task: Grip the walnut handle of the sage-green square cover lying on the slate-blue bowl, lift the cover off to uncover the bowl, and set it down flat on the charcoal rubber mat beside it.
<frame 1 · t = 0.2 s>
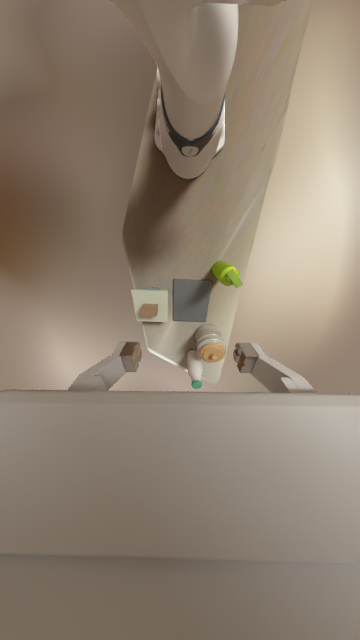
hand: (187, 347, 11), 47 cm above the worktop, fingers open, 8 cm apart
mat: (190, 301, 60), on the worktop
jar: (207, 333, 70), on the worktop
milk bottle: (193, 353, 77), on the worktop
soap dispenser: (218, 268, 53), on the worktop
cover: (151, 306, 55), point 6 cm above the worktop, touching bowl
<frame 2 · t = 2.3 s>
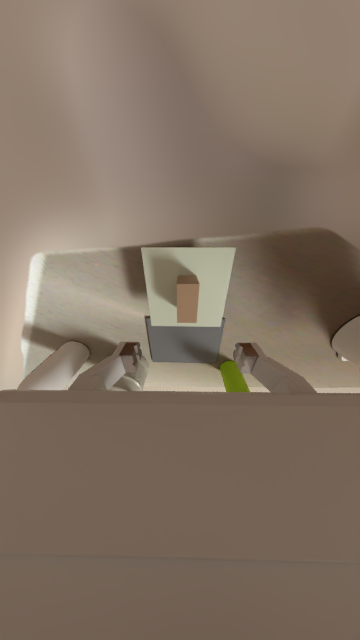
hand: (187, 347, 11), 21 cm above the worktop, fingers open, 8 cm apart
mat: (184, 341, 38), on the worktop
jar: (129, 363, 43), on the worktop
milk bottle: (78, 349, 41), on the worktop
soap dispenser: (230, 365, 43), on the worktop
cover: (186, 291, 24), point 6 cm above the worktop, touching bowl
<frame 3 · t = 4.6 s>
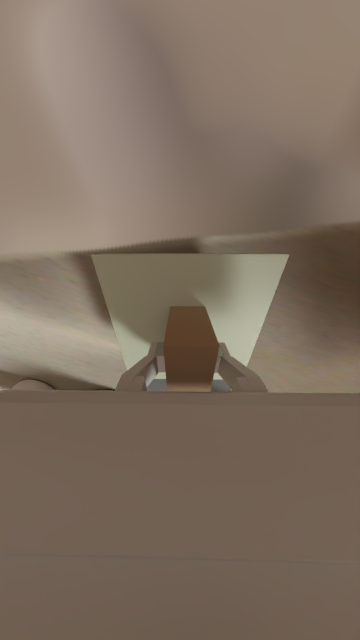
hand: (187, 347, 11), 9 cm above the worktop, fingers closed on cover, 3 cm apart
mat: (183, 379, 27), on the worktop
milk bottle: (39, 387, 30), on the worktop
cover: (186, 328, 14), point 6 cm above the worktop, touching bowl, gripper
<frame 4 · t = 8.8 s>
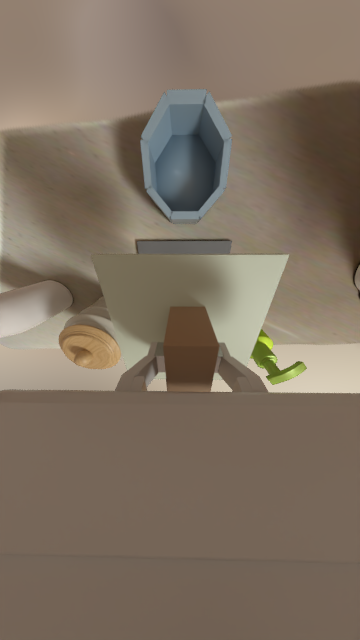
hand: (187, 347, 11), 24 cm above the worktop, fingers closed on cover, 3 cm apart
mat: (183, 279, 32), on the worktop
jar: (120, 314, 38), on the worktop
milk bottle: (59, 294, 35), on the worktop
soap dispenser: (235, 314, 37), on the worktop
cover: (186, 328, 14), point 21 cm above the worktop, touching gripper
bowl: (184, 182, 23), on the worktop
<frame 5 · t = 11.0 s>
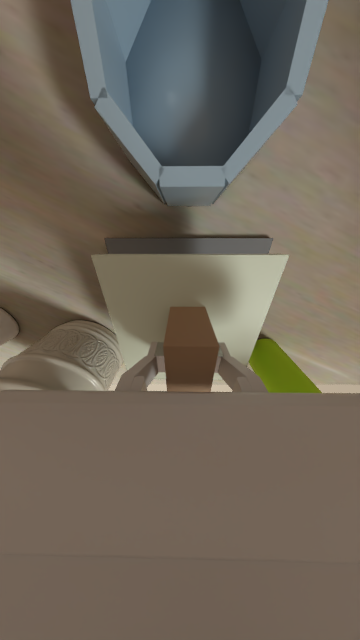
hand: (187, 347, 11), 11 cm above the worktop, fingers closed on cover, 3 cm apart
mat: (186, 299, 20), on the worktop
jar: (93, 345, 26), on the worktop
soap dispenser: (262, 348, 25), on the worktop
cover: (186, 328, 14), point 8 cm above the worktop, touching gripper
bowl: (191, 116, 11), on the worktop
when the fingers open (4 cm above the worktop, at t = 13.0 s): cover stays where it is, resting on mat.
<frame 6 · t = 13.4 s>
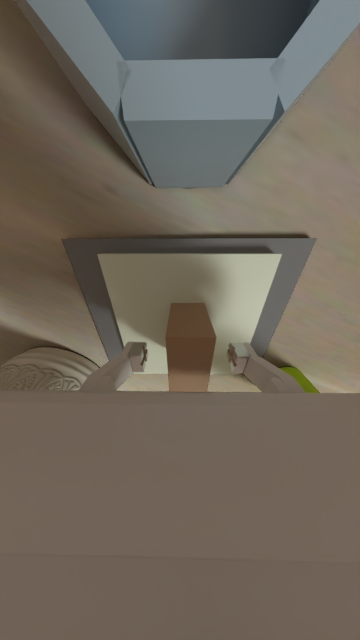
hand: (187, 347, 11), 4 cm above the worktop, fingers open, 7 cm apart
mat: (185, 321, 15), on the worktop
jar: (68, 375, 20), on the worktop
soap dispenser: (282, 377, 20), on the worktop
cover: (186, 324, 14), point 1 cm above the worktop, touching mat
bowl: (193, 13, 6), on the worktop
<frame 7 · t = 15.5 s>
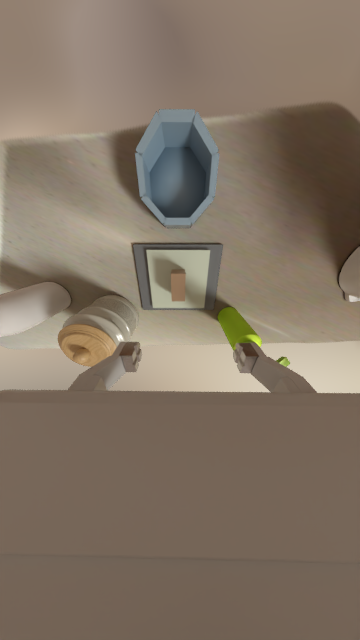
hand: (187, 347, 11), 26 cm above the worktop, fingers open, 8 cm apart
mat: (178, 280, 34), on the worktop
jar: (117, 314, 39), on the worktop
milk bottle: (57, 295, 36), on the worktop
soap dispenser: (228, 314, 39), on the worktop
cover: (178, 281, 33), point 1 cm above the worktop, touching mat
bowl: (177, 190, 25), on the worktop
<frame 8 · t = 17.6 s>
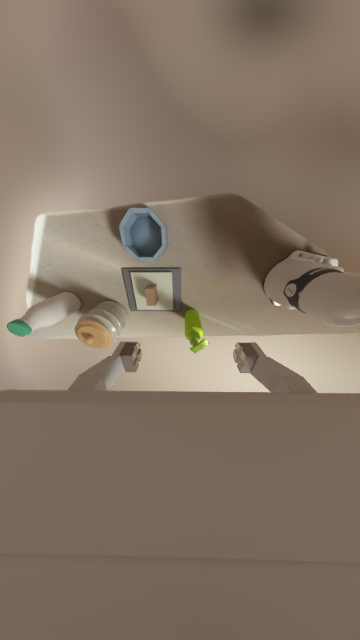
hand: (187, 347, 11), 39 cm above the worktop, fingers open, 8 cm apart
mat: (153, 291, 49), on the worktop
jar: (113, 314, 55), on the worktop
milk bottle: (71, 300, 52), on the worktop
soap dispenser: (192, 314, 54), on the worktop
cover: (153, 291, 48), point 1 cm above the worktop, touching mat
bowl: (148, 237, 40), on the worktop
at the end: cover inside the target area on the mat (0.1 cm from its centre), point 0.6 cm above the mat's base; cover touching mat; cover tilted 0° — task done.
